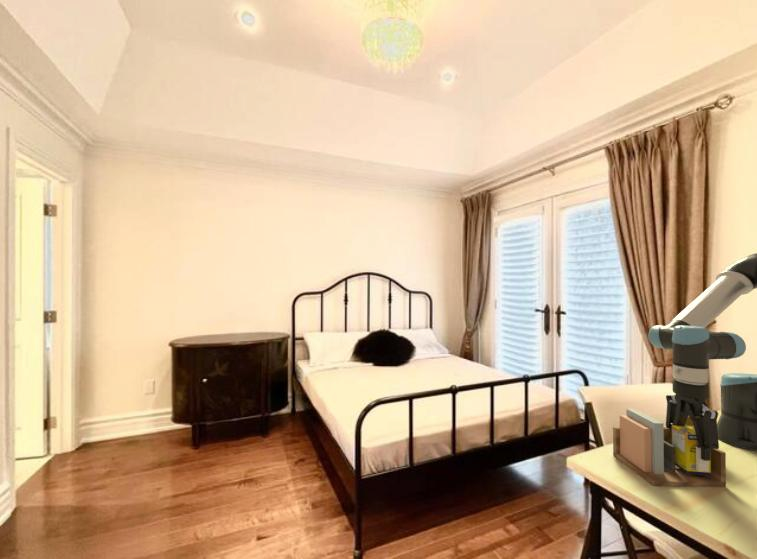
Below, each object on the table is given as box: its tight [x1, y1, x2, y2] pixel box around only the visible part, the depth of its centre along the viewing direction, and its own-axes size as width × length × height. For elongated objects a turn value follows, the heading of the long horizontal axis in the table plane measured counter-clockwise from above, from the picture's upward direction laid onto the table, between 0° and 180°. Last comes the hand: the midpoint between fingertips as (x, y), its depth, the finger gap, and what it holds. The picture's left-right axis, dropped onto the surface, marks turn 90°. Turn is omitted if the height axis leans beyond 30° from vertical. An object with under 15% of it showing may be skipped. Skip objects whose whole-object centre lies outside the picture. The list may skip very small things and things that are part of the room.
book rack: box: [612, 426, 727, 488], centre depth 98 cm, size 19×16×9 cm
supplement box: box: [672, 425, 711, 475], centre depth 95 cm, size 6×6×11 cm
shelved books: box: [619, 408, 665, 474], centre depth 100 cm, size 4×11×14 cm, turn 179°
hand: (690, 463), depth 95 cm, fingers closed on supplement box, 6 cm apart
